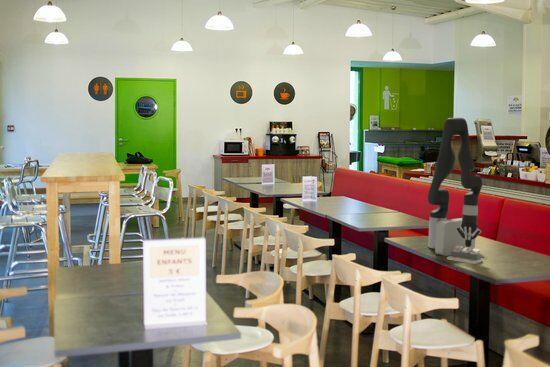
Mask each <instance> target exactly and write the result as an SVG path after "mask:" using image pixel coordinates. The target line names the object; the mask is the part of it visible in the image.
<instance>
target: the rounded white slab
mask: <svg viewBox="0 0 550 367" xmlns="http://www.w3.org/2000/svg"><path fill="white" fill-rule="evenodd" d="M461 224H462V217H461V218H460V217H459V218H458V217H457V218H452V219H447V220H443V221H439V222H438V223H437V226H436V242H435V249H434V252H435V254H436V255H439V256H445V257H446V256H447V257H449V256H451V252H452V251H453V250H454V248H455V247H456V246H457V245H458V246H463V248H462V250H463V249H464V248H465V247H466V246H465V239H464V238H462V237H461V235H460V234H459V232H458V230H457V228H459V227H460V226H461ZM462 231H463V229H462ZM463 232H464V231H463ZM475 233H476V231H475V232H474V233H473V236H474V235H475ZM464 234H465V232H464ZM473 236H472V237H473ZM475 246H476V238H475V239H472V245H471V246H470V247H467V248H471V250H473V249H476V248H475ZM462 250H461V251H462Z"/></svg>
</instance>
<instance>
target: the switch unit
mask: <svg viewBox="0 0 550 367" xmlns="http://www.w3.org/2000/svg"><path fill="white" fill-rule="evenodd" d="M446 260H449V261H455V262H459V263H460V262H462V263H466V264H472V265H473V264H474V265H477V264H478V263H481V262H483V260H484V259H483V258H482V253H479V252H478V253H477V254H470V252H468V253H464V252H462V251H460V252H453V251H452V252H451V255H448V256H447V257H446Z"/></svg>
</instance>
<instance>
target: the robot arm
mask: <svg viewBox="0 0 550 367" xmlns="http://www.w3.org/2000/svg"><path fill="white" fill-rule="evenodd" d="M454 136H459V139H460V147H459V150H458V153H457V157H458V158H457V159H458V163H459V167H460V183H461V186H462V188H464V189H467V190H470V191H469V192H467V193H464V195H463V206H462V212H461V213H462V215H461V218H462V224H461V226H460V227H459V228H457V230H458V232H459V234H460V235H461V237H462V238H464V239H465V246H466V247H470V246H471V245H472V239H475V240H476V238H478V236H479V235H480V234H481V233H482V230H481V229H479V228H478V226H479V225H478V216H479V215H478V214H479V213H478V212H479V208H478V206H479V205H478V204H479V196H480V193H481V190H482V188H483V178H482V177H481V175H479V174H471V172H473V171H474V170H475V169H476V167H475V163H474V159H473V154H472V151H471V146H470V145H471V144H470V142H471V141H470V135H469V127H468V123H467V120H466V119H465V118H464V117H448V118H447V119H445V121H444V124H443V128H442V135H441V143H440V148H439V152H438V156H437V160H436V163H435V164H436V165H435V169H434V173H433V177H432V181H431V184H430V186H429V189H428V193H427V203H428V204H429V205H432V206H438V207H436V209H433V210H431V211H430V212H429V223H428V243H427V247H428V248H430V249H434V250H435V242H436V226H437V223H438V222H439V221H443V220H448V219H447V218H448V213H449V205H450V204H449V203H450V192H449V190H448V189H447V188H441V185H442V184H443V182H444V181H445V180H446V179H447V177H449V176H450V174H451V173H452V172H453V170H454V167H455V163H456V154H455V152H454V149H453V146H452V140H453V137H454ZM462 229H463V231H464V232H465V234H464V232H463V231H462ZM475 231H476V233H475V235H474V236H473V233H474V232H475ZM472 236H473V237H472Z"/></svg>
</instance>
